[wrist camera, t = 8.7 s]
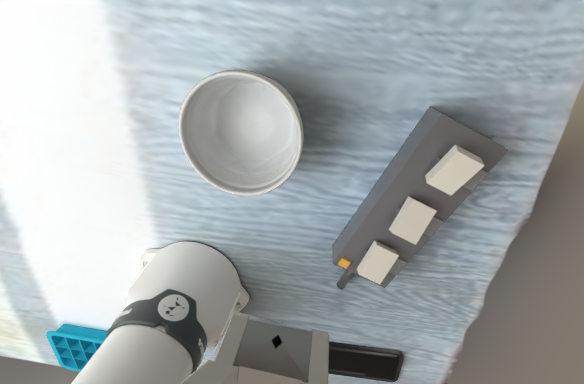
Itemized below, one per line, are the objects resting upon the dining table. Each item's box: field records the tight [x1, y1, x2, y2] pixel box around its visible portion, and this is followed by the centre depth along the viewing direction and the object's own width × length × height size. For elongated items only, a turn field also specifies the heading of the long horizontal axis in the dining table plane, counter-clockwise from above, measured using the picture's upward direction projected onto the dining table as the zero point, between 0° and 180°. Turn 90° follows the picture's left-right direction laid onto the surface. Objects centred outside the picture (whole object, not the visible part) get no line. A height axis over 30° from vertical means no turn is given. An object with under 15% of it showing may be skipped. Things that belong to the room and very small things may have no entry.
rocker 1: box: [357, 240, 399, 284], centre depth 36 cm, size 4×3×1 cm
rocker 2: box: [389, 196, 437, 245], centre depth 33 cm, size 4×3×1 cm
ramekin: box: [178, 70, 304, 196], centre depth 33 cm, size 13×13×7 cm
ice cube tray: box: [46, 324, 108, 372], centre depth 61 cm, size 12×20×3 cm, turn 86°
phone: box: [328, 342, 403, 382], centre depth 53 cm, size 8×1×15 cm
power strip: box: [333, 107, 508, 289], centre depth 37 cm, size 27×8×5 cm, turn 154°
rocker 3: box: [425, 145, 485, 195], centre depth 30 cm, size 4×3×1 cm
